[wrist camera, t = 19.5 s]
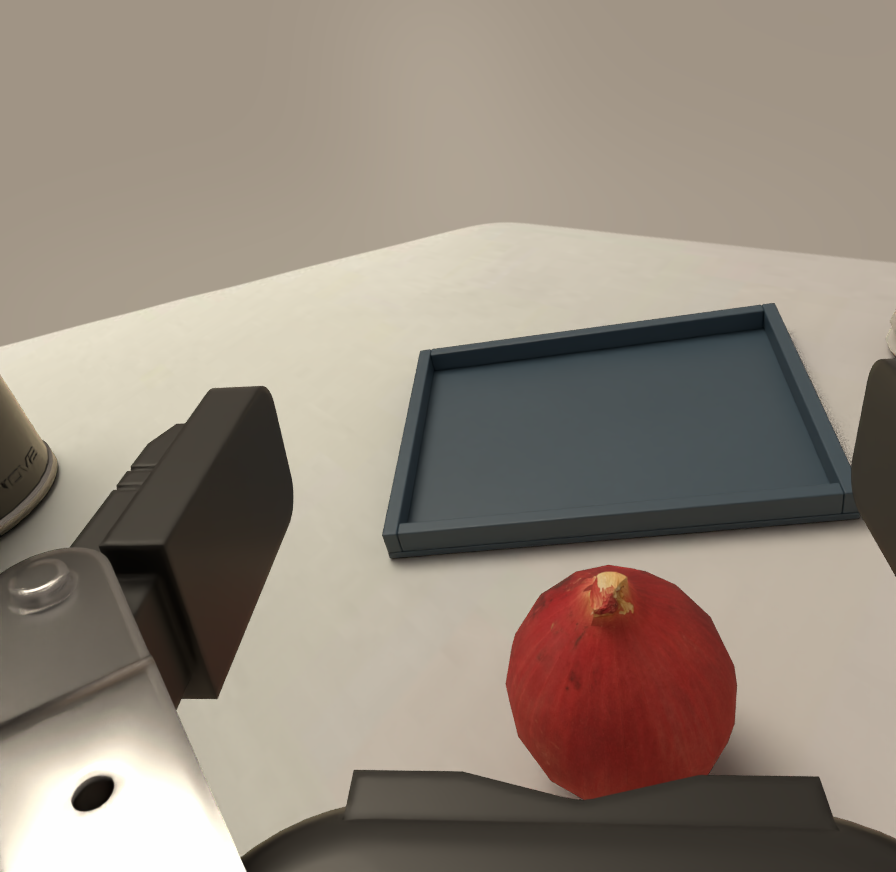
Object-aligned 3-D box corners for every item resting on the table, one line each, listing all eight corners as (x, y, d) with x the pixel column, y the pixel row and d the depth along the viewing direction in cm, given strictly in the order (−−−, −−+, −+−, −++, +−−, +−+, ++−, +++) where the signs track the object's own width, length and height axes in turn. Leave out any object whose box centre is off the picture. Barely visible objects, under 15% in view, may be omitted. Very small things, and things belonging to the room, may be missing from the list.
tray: (389, 558, 32) (381, 535, 31) (425, 371, 42) (419, 350, 41) (859, 518, 29) (863, 491, 28) (774, 325, 39) (774, 302, 38)
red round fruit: (492, 739, 25) (435, 560, 20) (642, 644, 26) (622, 457, 22) (610, 910, 20) (574, 732, 16) (782, 783, 22) (796, 587, 17)
